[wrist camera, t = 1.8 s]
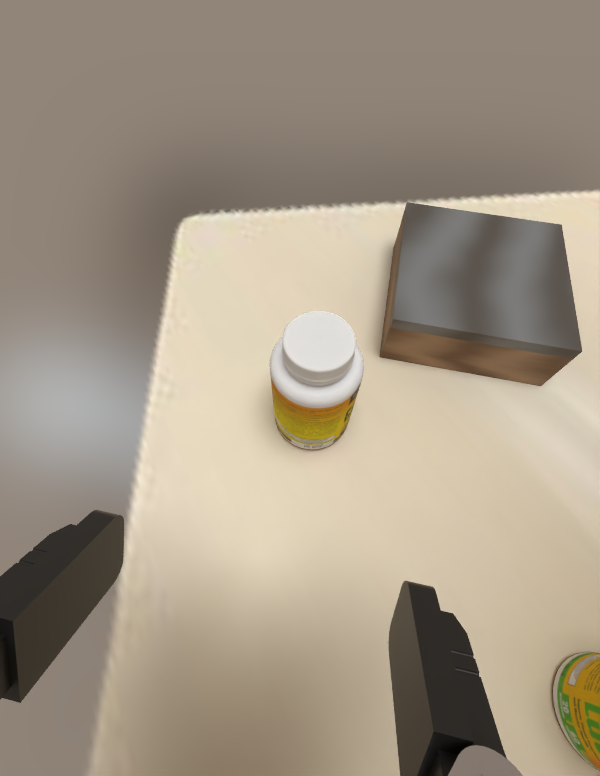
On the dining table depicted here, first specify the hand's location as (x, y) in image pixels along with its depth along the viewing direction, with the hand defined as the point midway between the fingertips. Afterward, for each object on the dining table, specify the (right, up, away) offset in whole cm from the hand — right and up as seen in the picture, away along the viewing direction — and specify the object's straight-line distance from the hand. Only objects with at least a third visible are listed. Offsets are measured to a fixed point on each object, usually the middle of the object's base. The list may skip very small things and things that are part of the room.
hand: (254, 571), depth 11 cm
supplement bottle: (+2, +3, +19) cm, 19 cm away
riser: (+16, +12, +24) cm, 31 cm away
